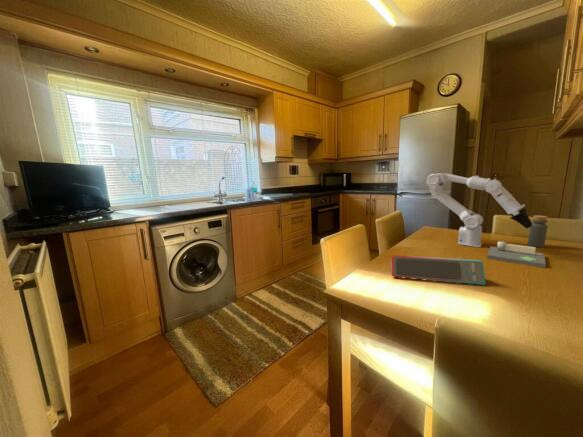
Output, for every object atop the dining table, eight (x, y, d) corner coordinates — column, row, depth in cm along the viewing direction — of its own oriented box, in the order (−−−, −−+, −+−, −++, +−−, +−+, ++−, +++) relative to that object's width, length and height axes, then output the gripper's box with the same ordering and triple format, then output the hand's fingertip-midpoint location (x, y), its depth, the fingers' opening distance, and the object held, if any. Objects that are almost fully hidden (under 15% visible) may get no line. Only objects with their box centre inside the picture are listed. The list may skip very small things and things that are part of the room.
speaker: (480, 254, 87) (391, 250, 96) (489, 277, 80) (393, 269, 89) (473, 269, 93) (389, 264, 102) (481, 291, 86) (391, 283, 95)
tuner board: (486, 258, 107) (487, 254, 107) (490, 249, 118) (490, 246, 117) (545, 267, 95) (545, 263, 94) (543, 256, 105) (543, 253, 105)
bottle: (547, 247, 116) (552, 217, 113) (535, 247, 117) (540, 217, 114) (535, 243, 122) (540, 214, 119) (524, 244, 122) (528, 215, 119)
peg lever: (496, 249, 112) (497, 242, 111) (497, 247, 114) (497, 240, 113) (542, 256, 102) (543, 248, 101) (541, 254, 104) (542, 246, 103)
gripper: (516, 197, 105) (540, 223, 101) (517, 195, 115) (539, 219, 111) (498, 206, 110) (521, 232, 105) (501, 204, 120) (522, 227, 116)
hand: (529, 226), depth 108 cm, fingers open, 7 cm apart
